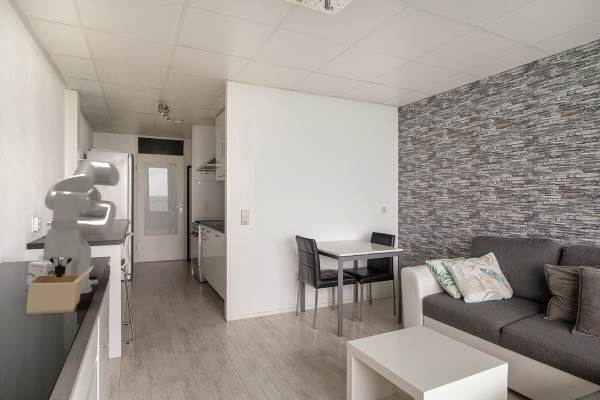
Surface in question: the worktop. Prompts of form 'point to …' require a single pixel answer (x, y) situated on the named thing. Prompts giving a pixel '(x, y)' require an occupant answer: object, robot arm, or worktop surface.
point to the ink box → (39, 269)
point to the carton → (53, 294)
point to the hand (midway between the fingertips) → (59, 276)
